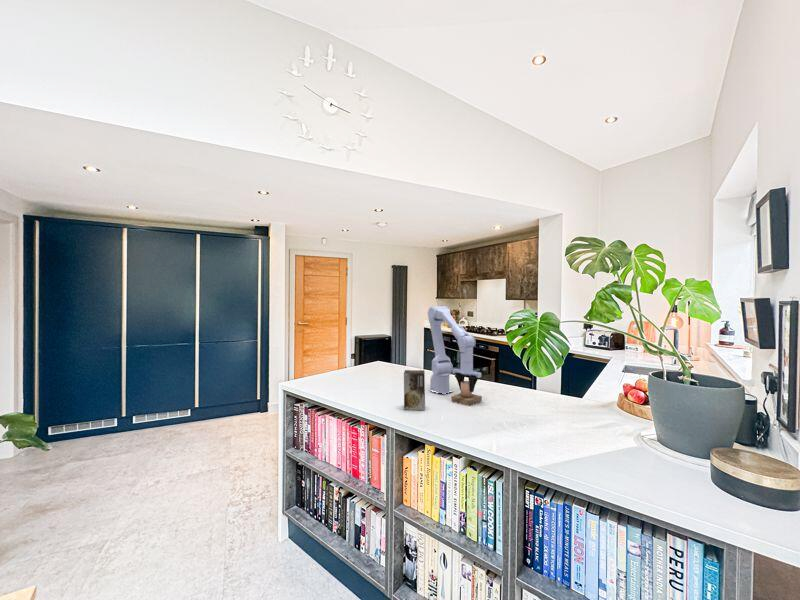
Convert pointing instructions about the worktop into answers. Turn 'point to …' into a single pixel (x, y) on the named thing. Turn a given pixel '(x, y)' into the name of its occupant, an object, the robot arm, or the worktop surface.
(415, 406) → the coffee box
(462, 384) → the terracotta cylinder
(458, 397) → the walnut base
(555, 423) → the worktop surface
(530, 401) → the worktop surface
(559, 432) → the worktop surface
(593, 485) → the worktop surface
